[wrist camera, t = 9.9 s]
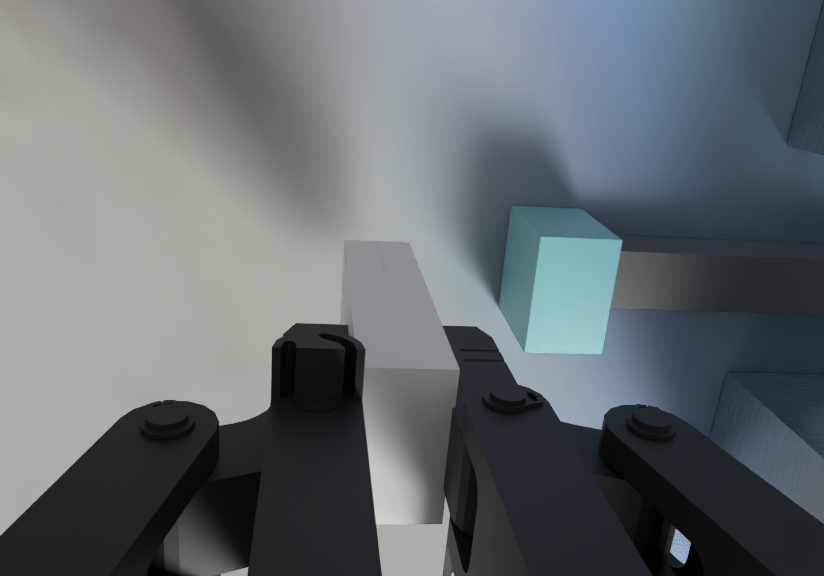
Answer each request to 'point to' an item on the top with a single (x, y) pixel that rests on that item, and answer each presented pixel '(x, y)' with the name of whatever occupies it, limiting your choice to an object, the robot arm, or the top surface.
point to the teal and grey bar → (638, 277)
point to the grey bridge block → (780, 392)
